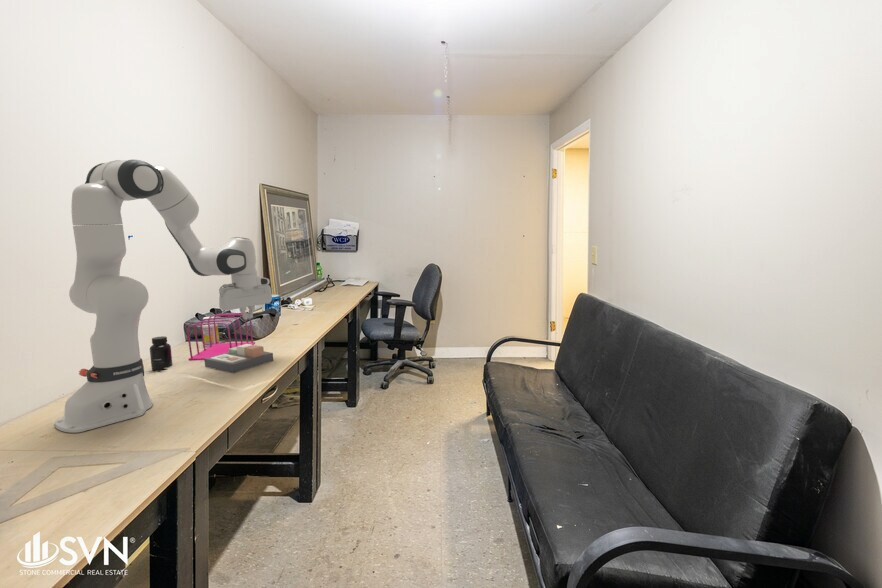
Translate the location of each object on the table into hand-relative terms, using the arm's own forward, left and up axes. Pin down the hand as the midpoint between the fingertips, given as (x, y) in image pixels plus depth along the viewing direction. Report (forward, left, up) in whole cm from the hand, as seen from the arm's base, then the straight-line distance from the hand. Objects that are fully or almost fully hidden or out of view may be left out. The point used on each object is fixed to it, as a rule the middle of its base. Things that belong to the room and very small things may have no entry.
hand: (248, 318), depth 174 cm
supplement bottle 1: (-19, +28, -18) cm, 38 cm away
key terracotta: (0, -2, -15) cm, 15 cm away
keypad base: (-3, +3, -18) cm, 18 cm away
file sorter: (+6, +26, -18) cm, 33 cm away
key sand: (0, +3, -15) cm, 15 cm away
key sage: (0, +9, -16) cm, 19 cm away
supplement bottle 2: (+12, +45, -18) cm, 50 cm away
